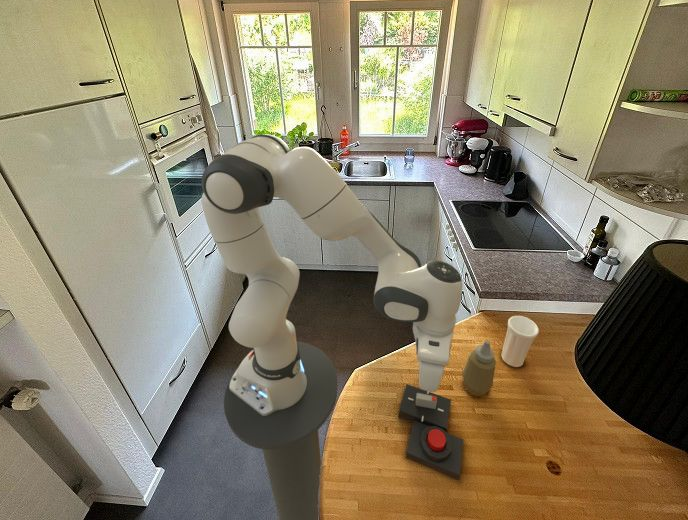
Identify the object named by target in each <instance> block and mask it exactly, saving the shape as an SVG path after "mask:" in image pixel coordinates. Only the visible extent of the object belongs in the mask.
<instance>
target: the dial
mask: <svg viewBox="0 0 688 520" xmlns="http://www.w3.org/2000/svg"><path fill="white" fill-rule="evenodd" d="M436 404H437V397H436V396H431V395H425V394H420V393H417V396H416V406H422V407H427V408H432V409H436Z"/></svg>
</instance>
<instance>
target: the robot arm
mask: <svg viewBox="0 0 688 520" xmlns="http://www.w3.org/2000/svg"><path fill="white" fill-rule="evenodd" d="M201 188H202V195H201V205H202V211H203V214H204V219H205V221H206V225H207V226H208V230H209V232H210V235H211V237H212V239H213V242H214V244H215V246H216V248H217V250H218V252H219V254H220V256H221V258H222V260H223V263H224V265H225V267H226V268H227V269H228V271H230V272H232V273H235V274H239V275H245V276H246V277H247V279H248V286H247V288H246V290H245V291H244V292H243V294H242V296H241V297H240V298H239V300H238V301H237V303H236V305H235V307H234V309H233V311H232V314H231V317H230V319H229V322H228V331H229V333H230V335H231V337H232V338H233V339H234V341H235V342H237V343H238V344H239V345H240V346H243V347H246V348H249V351H250V352H248V354H247V355H246V356H245V357H244V358H243V360H242V361H241V363H240V364H239V365H240V366H239V365H238V367H239V368H238V367H237V368H238V369H237V368H236V369H237V370H236V369H235V370H236V372H235V371H234V372H235V373H234V372H233V373H234V375H233V374H232V375H233V377H232V376H231V377H232V379H231V381H230V386H229V388H230V390H231V391H232V392H233V393H234V394H235V395H237V396H238V397H239V398H241V399H242V400H243V401H244V402H246V403H247V404H248V405H249V406H251V407H252V408H253V409H255V410H256V411H257V412H258V413H260V414H261V415H262V416H267V415H269V414H271V413H273V412H274V411H277V410H281V409H285V408H288V407H290V406H292V405H294V404H295V403H296V402H298V401H299V400H300V399H301V397H302V396H303V394H304V393H305V390H306V387H307V378H306V375H305V373H304V369H303V366H302V363H301V360H300V352H299V347H298V344H297V342H298V341H297V335H296V334H297V333H296V328H295V326H294V325H295V324H293V323H292V321H290V320H289V319H287V316H288V311H289V308H290V306H291V303H292V301H293V299H294V297H295V295H296V293H297V290H298V288H299V283H300V282H299V281H300V276H301V273H300V270H299V267H298V266H297V264H296V263H295V262H294V261H293V260H291V259H290V258H287V257H283V256H281V255H280V253H279V252H278V251H277V250H276V248H275V245H274V243H273V241H272V238H271V236H270V233H269V231H268V228H267V225H266V223H265V221H264V218H263V216H262V214H261V211H260V208H261V207H266V206H269V205H271V204H272V202H273V200H274V198H277V199H282V200H283V201H285V202H286V203H287V204H288V205H290V207H291V208H292V209H293V211H294V212H295V213H296V214H297V215H298V217H299V218H300V219H301V221H303V222H304V224H305V225H306V226H307V227H308V229H309V230H310V231H311V232H312V233H314V234H315V235H316V236H317V237H318V238H320V239H321V240H324V241H329V242H337V241H342V240H345V239H346V238H349V237H350V236H351V237H354V238H356V239H358V241H359V242H360V243H361V244H362V245H363V246H364V248H366V249H367V250H368V252H370V254H371V255H372V256H373V257H374V258H375V259H376V262H377V268H378V271H377V272H378V273H377V278H376V283H375V286H374V293H373V297H372V302H373V306H374V308H375V310H376V311H377V312H378V313H379V314H380V315H381V316H382V317H384V318H385V319H387V320H390V321H394V322H399V323H412V333H413V337H414V341H415V347H416V351H415V353H416V360H418V388H420V389H422V390H425V391H429V392H431V393H435V392H436V393H437V391H438V390H439V387H440V384H441V382H442V380H443V379H442V378H443V376H444V372H445V366H448V365H449V363H450V359H451V357H450V356H451V344H452V341H453V338H454V332H455V327H456V322H457V317H456V314H457V313H458V311H459V310H460V306H461V300H462V295H463V279H462V276H461V273H460V272H459V271H458V270H457V268H455V267H454V266H453V265H452V264H450V263H448V262H446V261H442V260H436V259H434V260H430V261H428V262H427V263H425V264H424V265H422V263H421V260H420V259H419V257H418V256H417V254H416V253H415V252H413V251H412V250H410V249H408V248H407V247H405V246H404V245H403V244H401V243H400V242H398V240H396V239H395V238H394V237H393V235H392V234H391V233H390V232H389V231H388V230H387V229H386V227H385V226H384V225H383V224H382V223H381V222H380V220H379V219H378V218H376V216H375V215H374V214H373V213H372V212H371V211H370V210H369V209H368V208H367V207H366V206H365V205H364V204H363V203H362V202H361V201H360V200H359V198H358V197H357V196H356V195H355V193H354V192H353V191H352V190H351V188H350V187H349V186H348V183H346V182H345V180H344V179H343V178H342V176H341V175H340V174H339V173H338V171H337V170H336V169H334V167H333V166H332V165H331V164H330V163H329V162H328V161H327V160H326V159H325V158H324V157H323V156H321V154H319V153H318V152H317V151H316V150H315V149H314V148H312V147H309V146H300V147H295V148H294V149H290V147H289V146H288V144H287V143H286V142H285V141H284V140H283V139H282V138H280V137H278V136H276V135H273V134H268V133H262V134H257V135H254V136H252V137H249V138H248V139H245V140H243V141H240V142H238V143H236V144H234V145H233V146H231V148H229V149H228V150H226V151H225V152H224V153H223V154H221V155H218V156H217V157H215V158H214V159H213V160H212V161H211V162H210V163H209V164H208V165H207V166H206V168H205V169H204V171H203V173H202V176H201ZM234 380H235V381H234ZM261 408H263V409H261Z"/></svg>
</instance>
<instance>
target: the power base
mask: <svg viewBox="0 0 688 520" xmlns="http://www.w3.org/2000/svg"><path fill="white" fill-rule="evenodd" d="M433 429H437V430H440V431H441V432H442V433H443V434H444V435H445V438H446V443H445V447H444V449H443V450H442V451H440V452H436V451H434V450H432V449H431V448H430V447H429V445H428V442H427V439H428V434H429V432H430V431H431V430H433ZM463 448H464V438H461V437H459V436H456V435H453V434H451V433H448V432H447V431H446V432H445V431H444V430H443V429H442V428H439V427H436V426H431V427H430V426H428V425H425V424H423V423H420V422H418V421H415V420H414V421H413V423H412V426H411V430H410V435H409V439H408V444H407V448H406V452H405V458H406V459H408V460H411V461H413V462H415V463H418V464H420V465H423V466H424V467H426V468H429V469H431V470H434V471H436V472H439V473H441V474H444V475H446V476H447V477H449V478H452V479H454V480H457V481H459V480H460V476H461V469H462V460H463V459H462V457H463V450H464V449H463Z"/></svg>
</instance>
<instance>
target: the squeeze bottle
mask: <svg viewBox="0 0 688 520" xmlns="http://www.w3.org/2000/svg"><path fill="white" fill-rule="evenodd" d="M496 363H497V361H496V358H495V353H494V350H493V349H492V348H491V342H490V340H489V339H488V340H485V341H484V342H483V343H482V344H479V345H477V346H476V347H475V349H473V350H471V352H470V354H469V356H468V358H467V360H466V363H465V365H464V368H463V370H462V374H461V375H462V380H463V384H464V388H465V389H466V391H467V392H468V393H469V394H470V395H473V396H475V397H481V396H484V395H485V394H487V393H488V392H489V391H490V390H491V389H492V388H493V384H494V377H495V370H496Z"/></svg>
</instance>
